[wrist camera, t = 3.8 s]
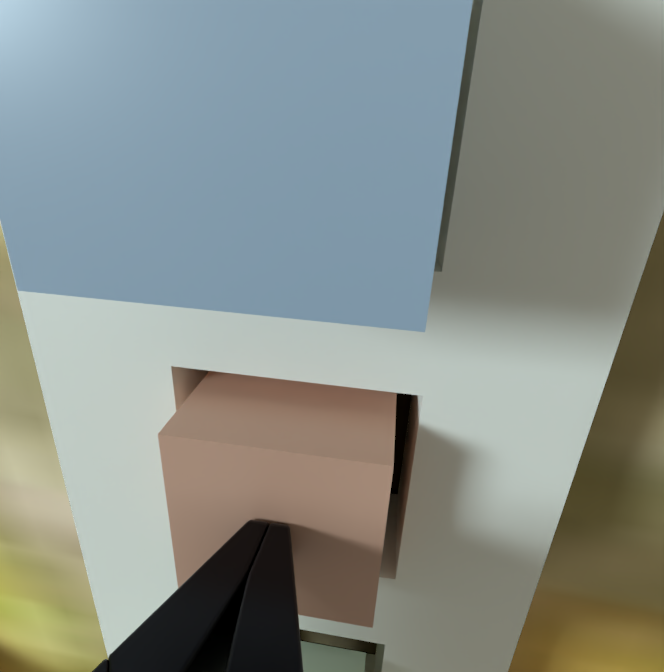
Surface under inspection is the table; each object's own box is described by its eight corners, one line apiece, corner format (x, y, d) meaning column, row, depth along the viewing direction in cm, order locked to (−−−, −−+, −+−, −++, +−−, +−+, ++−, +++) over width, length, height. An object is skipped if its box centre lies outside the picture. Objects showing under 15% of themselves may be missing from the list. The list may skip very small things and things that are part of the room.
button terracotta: (382, 495, 14) (372, 628, 10) (237, 474, 14) (178, 593, 10) (398, 362, 12) (393, 466, 8) (231, 344, 12) (157, 434, 9)
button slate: (416, 242, 8) (424, 331, 5) (179, 223, 9) (16, 291, 5) (456, -77, 6) (522, -351, 3) (154, -78, 7) (-130, -308, 3)
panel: (449, 720, 19) (456, 821, 16) (168, 665, 20) (130, 749, 17) (732, -317, 7) (935, -595, 4) (15, -278, 8) (-172, -473, 6)
